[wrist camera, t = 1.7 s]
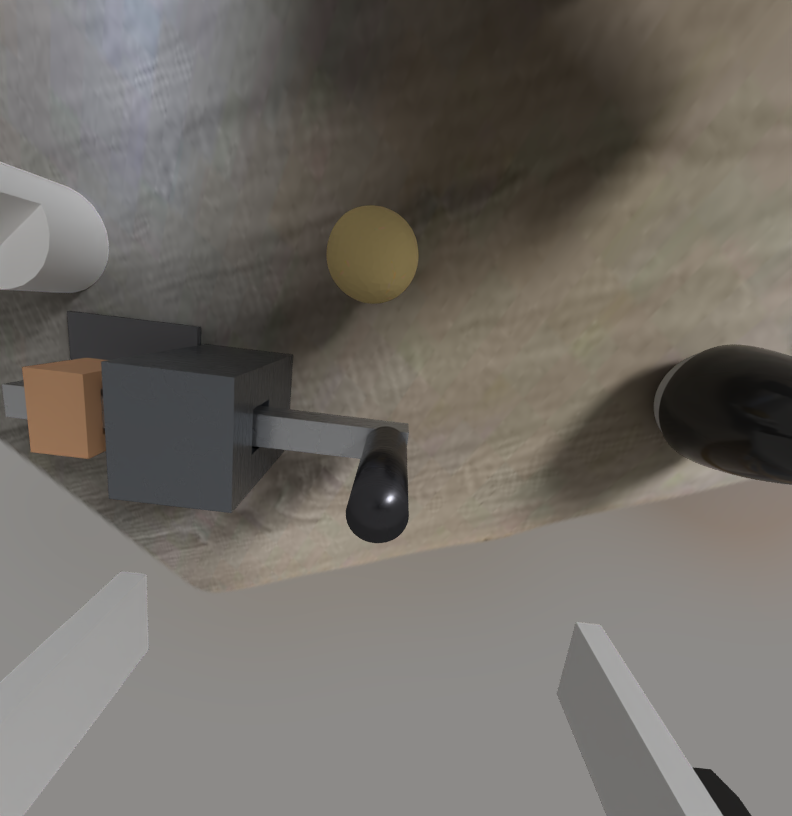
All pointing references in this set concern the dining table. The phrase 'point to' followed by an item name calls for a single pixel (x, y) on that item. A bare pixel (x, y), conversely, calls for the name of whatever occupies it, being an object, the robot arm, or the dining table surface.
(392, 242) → the light bulb
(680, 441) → the pump dispenser
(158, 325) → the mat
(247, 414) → the bearing block
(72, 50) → the dining table surface
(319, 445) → the shaft
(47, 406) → the tan wooden block
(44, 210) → the cylinder with rectangular tab
